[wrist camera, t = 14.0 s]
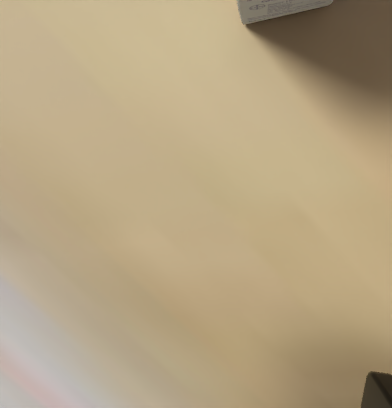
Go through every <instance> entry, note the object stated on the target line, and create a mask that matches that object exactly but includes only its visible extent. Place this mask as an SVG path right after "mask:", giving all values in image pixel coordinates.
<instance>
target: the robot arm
mask: <svg viewBox="0 0 392 408" xmlns="http://www.w3.org/2000/svg"><path fill="white" fill-rule="evenodd" d="M361 408H392V375H391V374H388V373H380V372H373V371H371V372H369V373H368V375H367V378H366V383H365V388H364V393H363V398H362V404H361Z"/></svg>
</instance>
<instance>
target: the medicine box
mask: <svg viewBox="0 0 392 408" xmlns="http://www.w3.org/2000/svg"><path fill="white" fill-rule="evenodd" d="M333 1H334V0H237V4H238V10H239V14H240V18H241V21H242V23H243V24H250V23H254V22H258V21H263V20H267V19H272V18H276V17H280V16H285V15H289V14H294V13H298V12H302V11H307V10H311V9H315V8H320V7H324V6H328V5H330V4H331V3H332V2H333Z"/></svg>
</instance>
